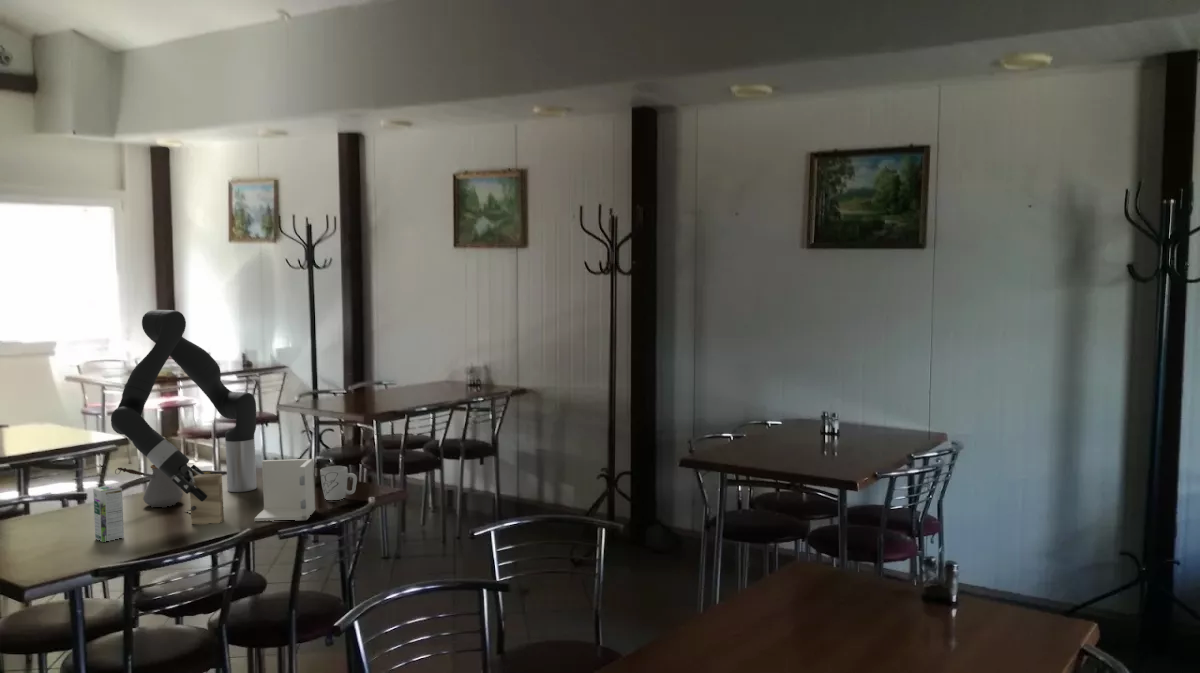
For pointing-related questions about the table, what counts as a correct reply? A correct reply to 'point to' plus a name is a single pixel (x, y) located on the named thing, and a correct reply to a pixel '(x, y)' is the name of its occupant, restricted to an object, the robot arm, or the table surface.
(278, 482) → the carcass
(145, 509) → the table surface
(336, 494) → the mug
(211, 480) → the door
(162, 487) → the coffee pot
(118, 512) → the syrup box
